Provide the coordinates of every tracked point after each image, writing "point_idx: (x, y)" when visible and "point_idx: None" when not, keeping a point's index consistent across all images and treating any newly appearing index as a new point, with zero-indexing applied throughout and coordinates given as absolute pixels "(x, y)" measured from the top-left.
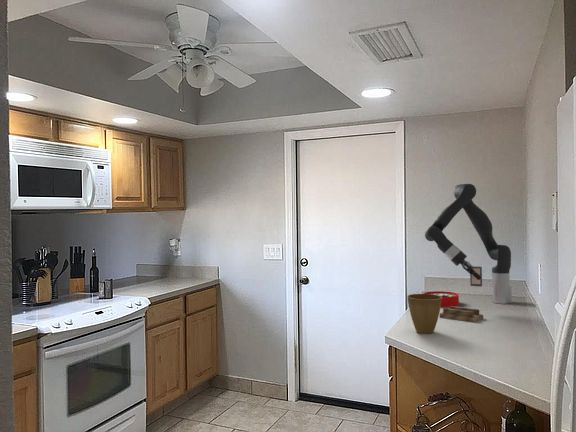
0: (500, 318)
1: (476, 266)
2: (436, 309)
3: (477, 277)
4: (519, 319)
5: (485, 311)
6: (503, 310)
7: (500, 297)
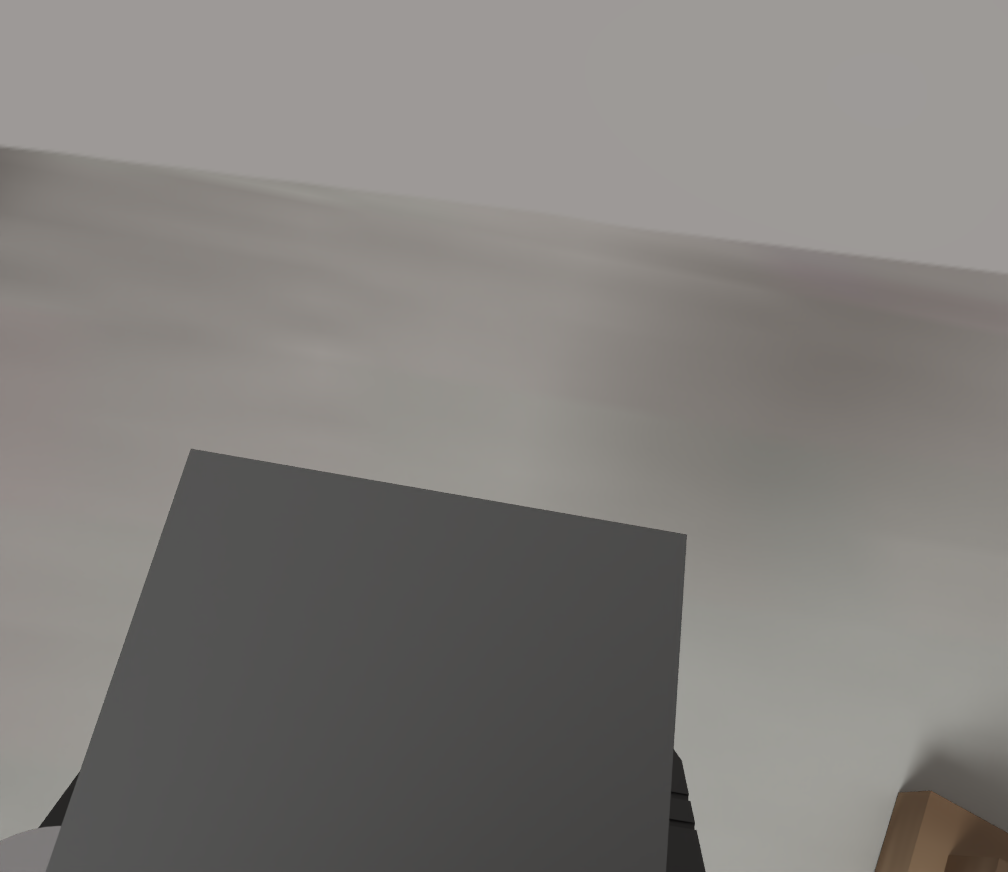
0: (804, 558)
1: (57, 858)
2: None
3: None
4: (793, 362)
5: None
6: (272, 442)
7: None
